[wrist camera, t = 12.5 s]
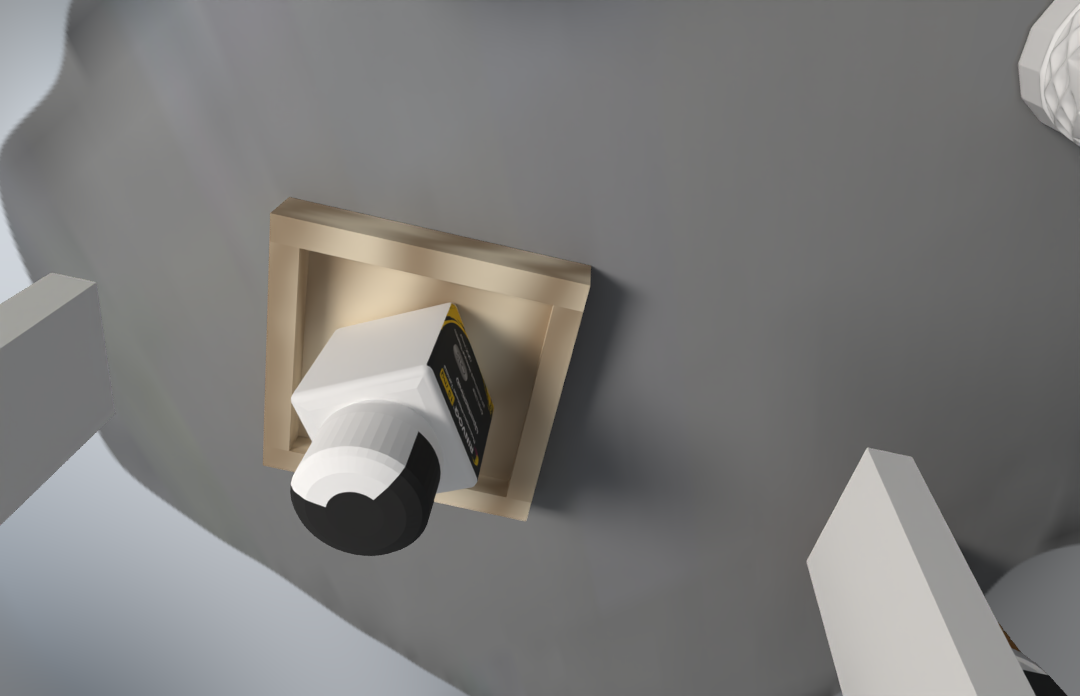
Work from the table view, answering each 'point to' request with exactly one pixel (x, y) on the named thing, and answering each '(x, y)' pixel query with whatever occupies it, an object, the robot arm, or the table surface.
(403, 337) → the medicine bottle
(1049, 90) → the white cup
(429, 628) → the table surface
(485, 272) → the tray
